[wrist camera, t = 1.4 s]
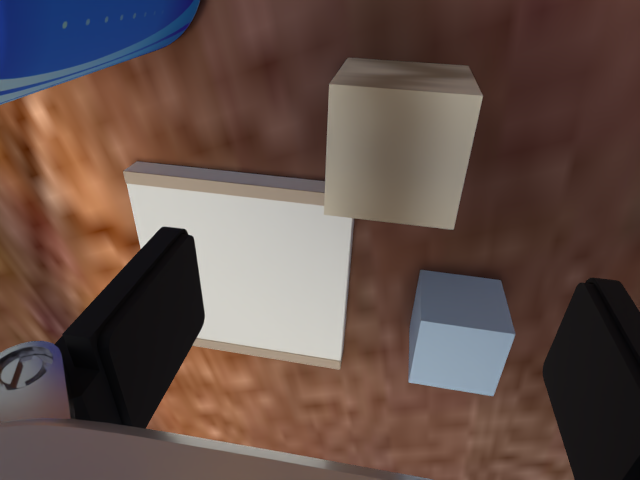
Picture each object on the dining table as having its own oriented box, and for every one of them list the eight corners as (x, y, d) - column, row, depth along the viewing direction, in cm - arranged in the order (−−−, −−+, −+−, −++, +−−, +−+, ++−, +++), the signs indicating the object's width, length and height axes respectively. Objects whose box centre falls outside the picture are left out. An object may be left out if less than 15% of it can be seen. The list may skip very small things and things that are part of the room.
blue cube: (500, 279, 28) (515, 334, 24) (482, 337, 31) (493, 396, 27) (420, 268, 29) (421, 320, 25) (409, 326, 32) (408, 382, 28)
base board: (356, 184, 27) (353, 196, 25) (343, 353, 34) (339, 369, 33) (136, 161, 29) (123, 171, 27) (169, 326, 36) (159, 340, 35)
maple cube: (468, 65, 22) (483, 95, 17) (446, 176, 26) (453, 229, 21) (348, 57, 23) (329, 84, 18) (341, 166, 26) (323, 214, 21)
